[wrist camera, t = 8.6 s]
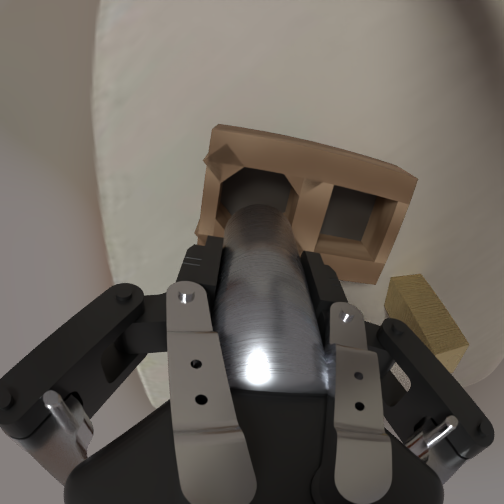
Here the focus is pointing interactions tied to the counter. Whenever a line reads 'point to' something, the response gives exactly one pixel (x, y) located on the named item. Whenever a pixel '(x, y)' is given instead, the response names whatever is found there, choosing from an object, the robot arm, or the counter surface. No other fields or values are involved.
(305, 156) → the bore block
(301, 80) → the counter surface
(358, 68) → the counter surface
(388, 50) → the counter surface
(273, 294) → the cylinder
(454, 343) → the square bit
